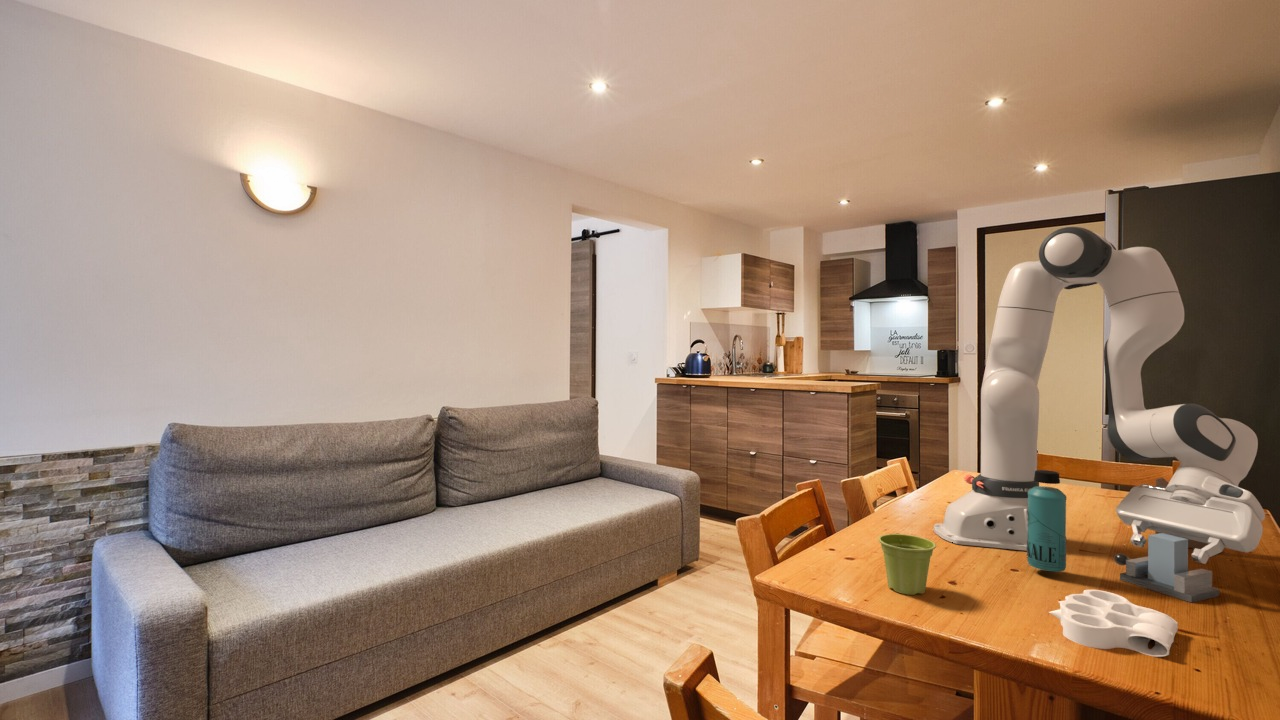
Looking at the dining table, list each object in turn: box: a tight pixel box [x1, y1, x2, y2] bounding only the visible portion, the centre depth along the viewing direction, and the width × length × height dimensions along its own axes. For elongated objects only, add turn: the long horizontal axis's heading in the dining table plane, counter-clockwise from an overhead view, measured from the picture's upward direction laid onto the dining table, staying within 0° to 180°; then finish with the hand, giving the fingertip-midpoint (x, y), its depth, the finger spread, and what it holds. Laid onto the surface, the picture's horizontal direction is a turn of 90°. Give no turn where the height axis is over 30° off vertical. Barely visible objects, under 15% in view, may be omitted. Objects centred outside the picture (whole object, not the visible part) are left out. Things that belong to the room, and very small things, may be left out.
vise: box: [1119, 568, 1220, 603], centre depth 107 cm, size 8×11×4 cm
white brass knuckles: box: [1048, 589, 1179, 658], centre depth 91 cm, size 3×18×15 cm
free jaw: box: [1113, 553, 1148, 577], centre depth 113 cm, size 8×6×3 cm
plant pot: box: [878, 533, 937, 596], centre depth 107 cm, size 9×9×9 cm
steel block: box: [1147, 533, 1189, 586], centre depth 107 cm, size 4×4×8 cm
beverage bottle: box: [1026, 469, 1067, 572], centre depth 114 cm, size 6×7×20 cm
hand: (1165, 552), depth 107 cm, fingers open, 8 cm apart
